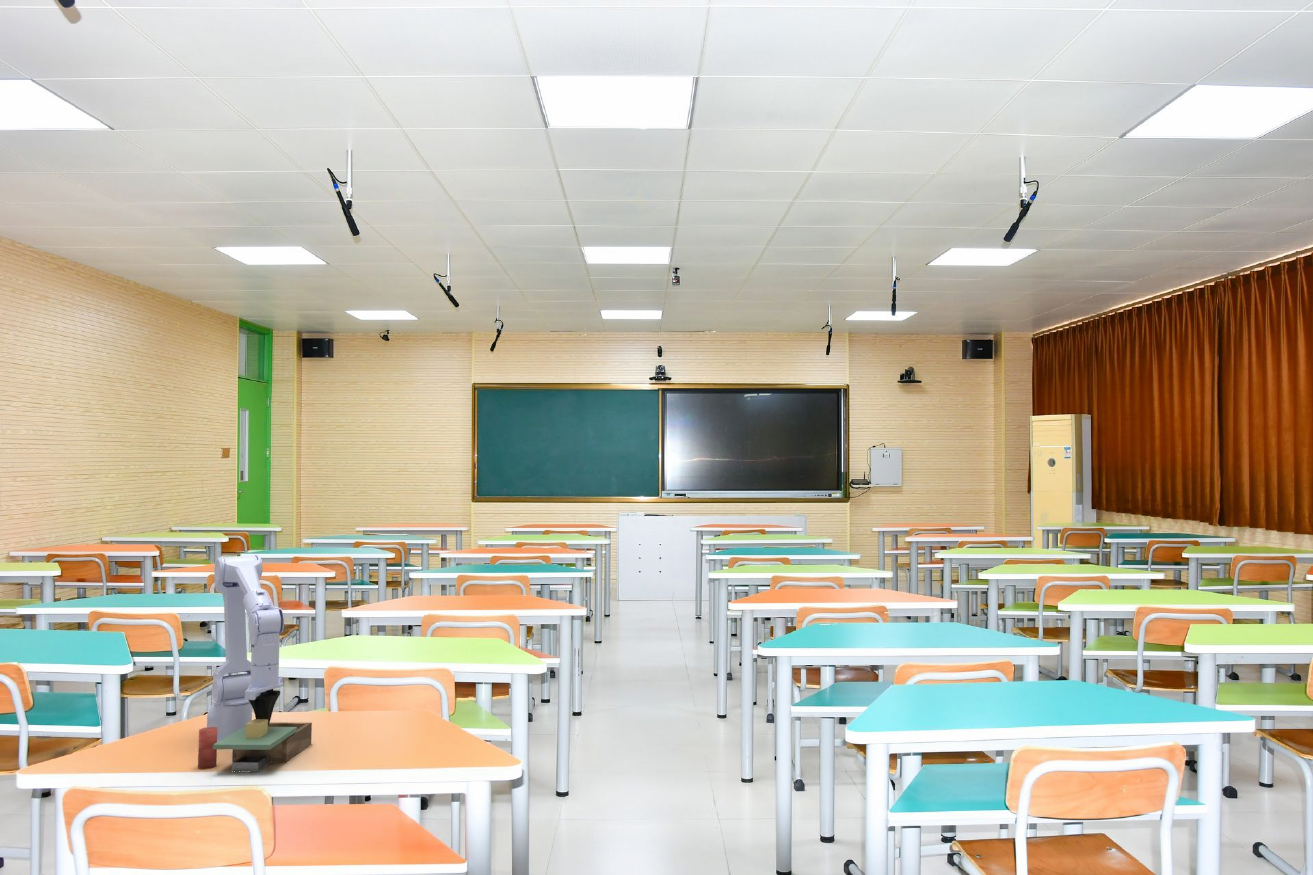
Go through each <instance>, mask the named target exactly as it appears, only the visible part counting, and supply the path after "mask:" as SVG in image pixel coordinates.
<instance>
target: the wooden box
mask: <svg viewBox="0 0 1313 875" xmlns="http://www.w3.org/2000/svg"><path fill="white" fill-rule="evenodd" d="M312 726H313V722H288V721H287V722H280V721H279V722H276V721H275V722H274V721H273V722H271V721H270V723H269V725H268V727H297V732H295V733H294V734H292V735H291V736H289V737H288V738H286V739H285V740H283V741H282V742H280V743H279V744H277V745H276V746H274V747H273V748H271V749H270V750H232V756H231V758H232V760H231V763H232V762H234V761H235V760H237V759H238V758H240V757H242V756H243V755H270V763H287V762H289V761H291V759H293V758H294V757H296V756H297V755H299V754H300V753H302V752H303V751H304V750H305V749H307V748H308V747H309V746H310V745H312V729H313V727H312Z"/></svg>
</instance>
